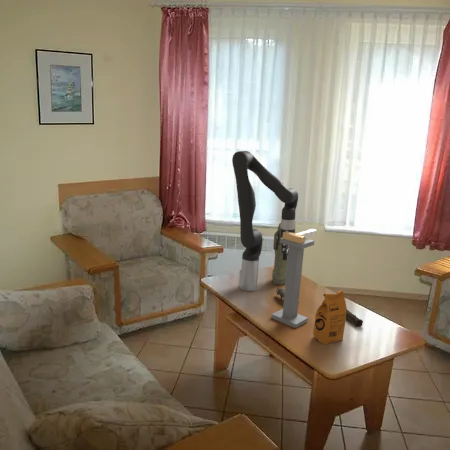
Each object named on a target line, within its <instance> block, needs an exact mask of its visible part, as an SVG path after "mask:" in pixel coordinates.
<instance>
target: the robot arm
mask: <svg viewBox="0 0 450 450" xmlns="http://www.w3.org/2000/svg"><path fill="white" fill-rule="evenodd" d="M231 159H232V161H231V163H232V166H233V172H234V176H235V177H234V178H235V184H236V186H235V187H236V194H237V203H238V210H239V211H238V212H239V223H240V225H239V226H240V227H239V228H240V229H239V230H240V242H241V244H242V246H243V247H244V248H245V250H244V251H243V252H242V254H241V256H242V257H241V270H239V279H238V288H240V289H241V290H242V291H247V292H253V291H256V290H257V289H258V279H259V278H258V277H259V266H260V265H259V264H260V256H261V253H262V248H263V247H262V246H263V234H262V232H261V231H260V229H257V228H254V226H253V220H254V219H253V218H254V215H255V212H256V205H257V203H256V201H257V200H256V194H255V190H254V188H253V185H252V183H251V182H250V179H249V173H248V170H249V171H251V172H252V173H254V174H255V175H256V177H257V178H258V179H259V180H260V182H261V183H262V184H263V185H264V187H267V189H269V190H270V191H271V192H273V193H274V195H275V196H276V197H277V198H278V199H279V201H281V202H282V203H284V206H283V207H282V210H281V216H280V217H281V218H280V223H281V229H280V236H281V237H283V232H286V231H287V232H291V233H295V234H296V211H297V208H298V207H297V206H298V202H299V192H298V191H297V189H295V188H294V187H293V188H292V187H291V188H286V187H285V186H284V182H283V181H282V180H281V179H280V178H279V177H278V176H276V175H274V174H273V173H272V172H271V171H269V170H268V169H267V168H266V167H265V166H264V165H263V164H262V163H261V162H260V161H259V160H258V159H257V157H255V155H254V154H253V153H252V152H251V151H248V150H239V151H236V152H234V154H233V155H232V158H231ZM284 249H285V251H284ZM288 251H289V245H286V244H283V243H282V251H281V252H282V253H283V260H287V255H288Z"/></svg>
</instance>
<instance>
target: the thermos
mask: <svg viewBox="0 0 450 450" xmlns="http://www.w3.org/2000/svg"><path fill="white" fill-rule="evenodd" d="M280 229H281V222H280V223H278V227H277V231H275V233H274V235H273V246H272V247H273V250H274V264H273V269H272V276H271V277H272V281H271V282H272V283H273V284H275V285H277V286H278V285H279V286H282V285H284V286H285V283H286V272H287V261H288V255H287V260H283V253H282V252H281V251H282V243H280V238H283V237H281V236H280ZM284 251H285V249H284Z"/></svg>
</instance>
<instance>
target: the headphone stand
mask: <svg viewBox="0 0 450 450" xmlns="http://www.w3.org/2000/svg"><path fill="white" fill-rule="evenodd" d="M280 243H283V244H286V245H289V251H288V261H287V272H286V283H285V285H284V289H285V293H284V298H283V303H282V304H283V305H282V308H281V309H279V310H277V311H275V312H273V313H271V315H270V316H271V319H273V320H275V321H277V322H280V323H282V324H285V325H287V326H289V327H291V328H294V329H297V328H299V327H301V326H302V325H304V324H306V323H308V322H309V321H308V320H309V317H308V316H304V315H301V314H300V313H298V312H299V311H298V309H299V303H300V302H299V300H300V291H301V283H302V282H301V281H302V272H303V262H304V261H303V260H304V254H305V253H304V251H305V249H306V248H308V247H312V246H315V240H313V239H310V238H305V243H303V244H299V243H295V242H292V241H288V240H285V239H283V238H280Z"/></svg>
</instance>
